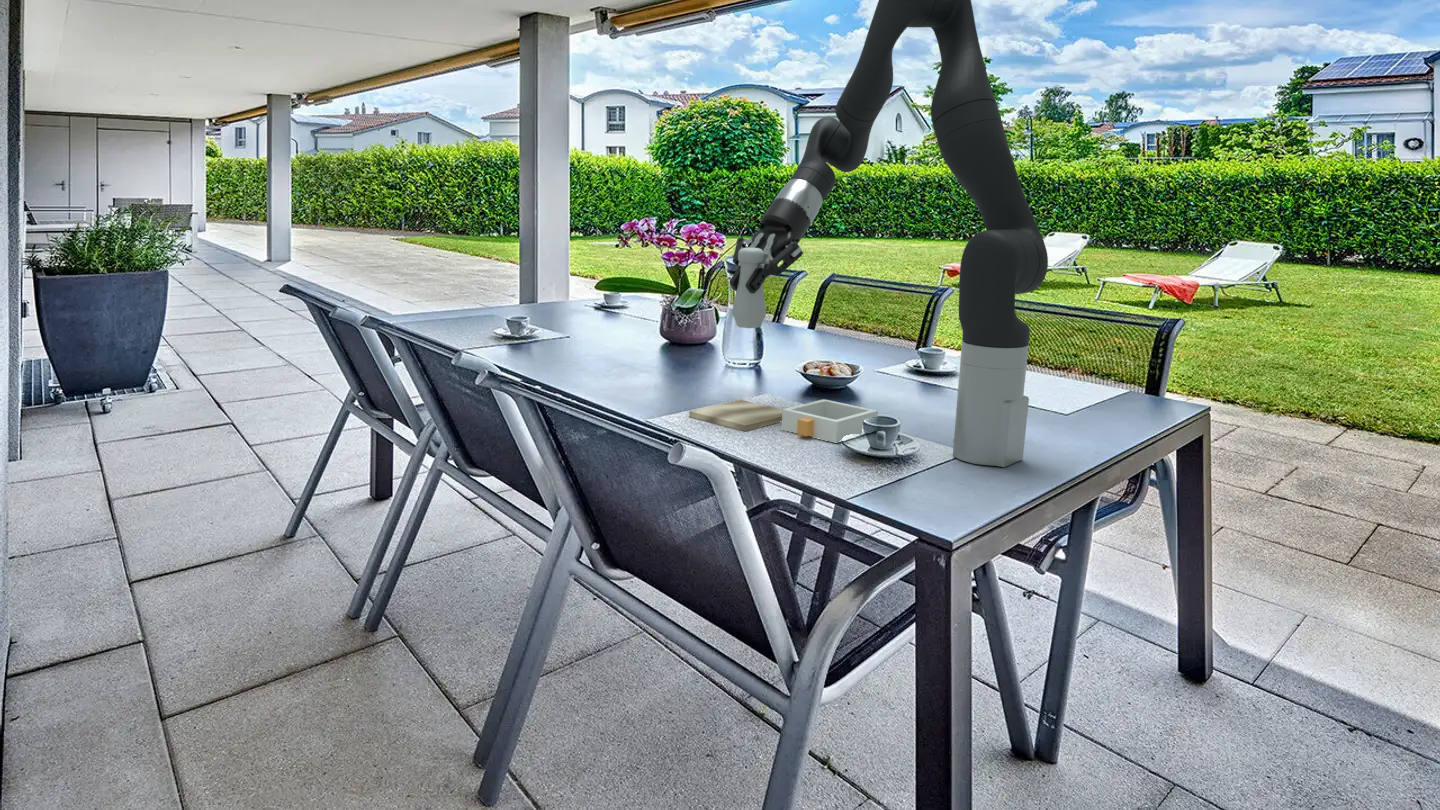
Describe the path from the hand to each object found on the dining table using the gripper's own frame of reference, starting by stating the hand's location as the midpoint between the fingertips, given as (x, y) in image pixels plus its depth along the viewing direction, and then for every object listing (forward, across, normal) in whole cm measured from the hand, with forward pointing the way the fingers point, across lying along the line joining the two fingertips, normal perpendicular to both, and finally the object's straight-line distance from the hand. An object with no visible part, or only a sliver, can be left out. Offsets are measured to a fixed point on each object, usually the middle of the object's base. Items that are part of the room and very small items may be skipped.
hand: (741, 288), depth 147 cm
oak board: (+15, 0, +17) cm, 22 cm away
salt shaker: (+3, 0, +6) cm, 7 cm away
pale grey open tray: (+12, +15, +19) cm, 27 cm away
